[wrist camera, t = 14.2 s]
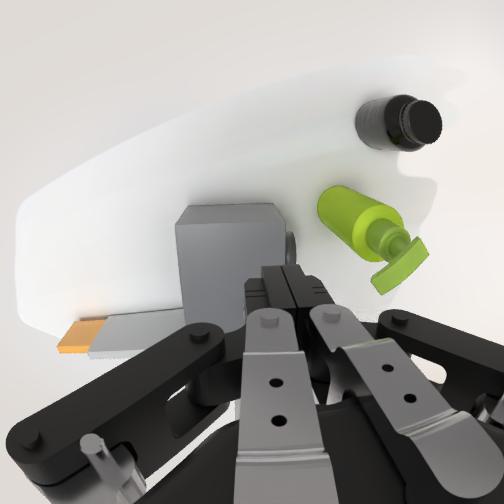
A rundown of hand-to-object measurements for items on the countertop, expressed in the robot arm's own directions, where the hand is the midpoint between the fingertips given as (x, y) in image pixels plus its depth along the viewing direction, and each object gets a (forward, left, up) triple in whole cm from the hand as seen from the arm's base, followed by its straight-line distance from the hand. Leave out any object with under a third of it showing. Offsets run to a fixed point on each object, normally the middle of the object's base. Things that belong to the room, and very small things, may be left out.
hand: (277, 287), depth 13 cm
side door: (-18, +17, -29) cm, 38 cm away
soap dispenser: (-3, -12, -29) cm, 32 cm away
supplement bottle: (+9, -18, -29) cm, 36 cm away
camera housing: (-9, +2, -29) cm, 30 cm away
